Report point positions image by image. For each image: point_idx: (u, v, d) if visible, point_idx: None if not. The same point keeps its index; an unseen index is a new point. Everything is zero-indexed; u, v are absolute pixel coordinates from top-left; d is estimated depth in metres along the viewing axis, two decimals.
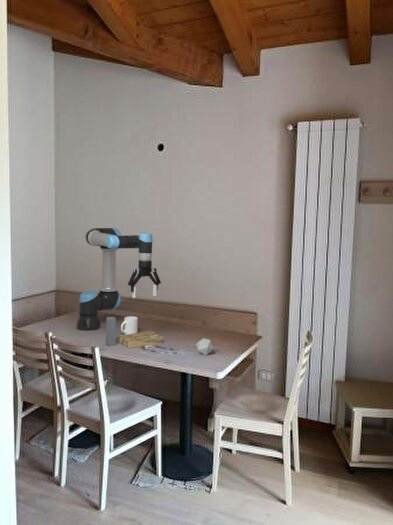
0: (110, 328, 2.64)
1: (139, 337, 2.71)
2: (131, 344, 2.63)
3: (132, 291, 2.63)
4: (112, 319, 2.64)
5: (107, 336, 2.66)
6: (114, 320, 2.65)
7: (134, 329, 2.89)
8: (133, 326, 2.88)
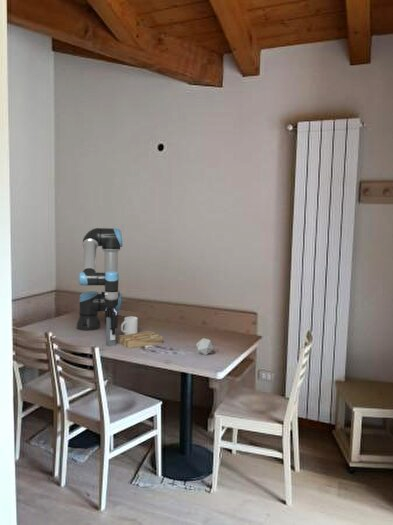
0: None
1: (139, 337, 2.71)
2: (131, 344, 2.63)
3: None
4: None
5: (107, 336, 2.66)
6: None
7: (134, 329, 2.89)
8: (133, 326, 2.88)
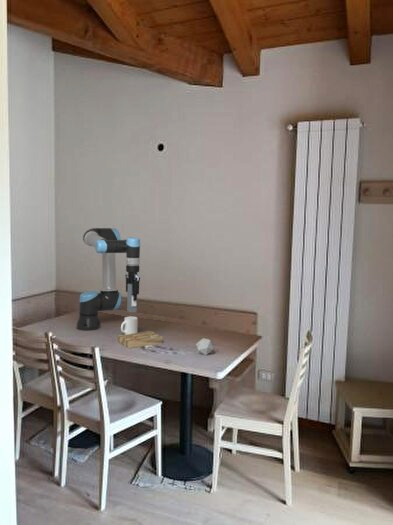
0: None
1: (139, 337, 2.71)
2: (131, 344, 2.63)
3: None
4: None
5: (128, 302, 2.67)
6: None
7: (134, 329, 2.89)
8: (133, 326, 2.88)
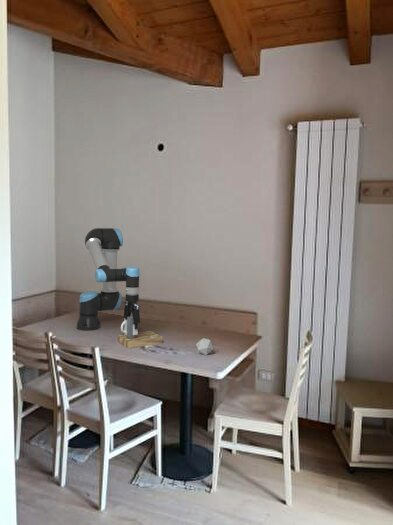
0: (131, 327, 2.67)
1: (139, 337, 2.71)
2: (131, 344, 2.63)
3: None
4: None
5: (128, 335, 2.69)
6: None
7: None
8: None
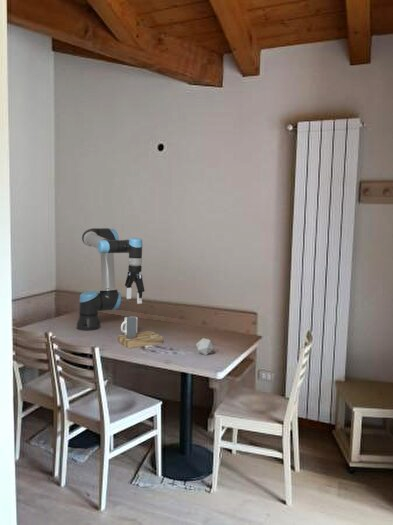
0: (131, 327, 2.67)
1: (139, 337, 2.71)
2: (131, 344, 2.63)
3: (127, 292, 2.78)
4: (133, 318, 2.67)
5: (127, 335, 2.69)
6: (134, 319, 2.68)
7: None
8: None
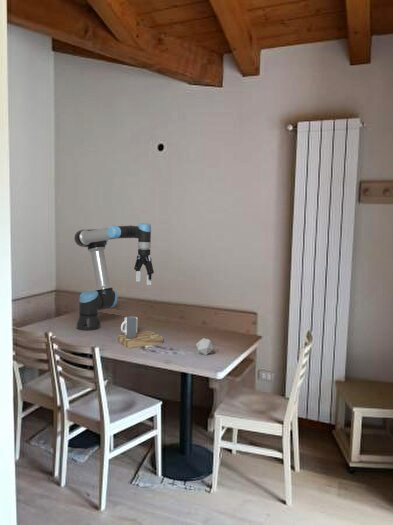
0: (131, 327, 2.67)
1: (139, 337, 2.71)
2: (131, 344, 2.63)
3: (136, 275, 2.93)
4: (133, 318, 2.67)
5: (127, 335, 2.69)
6: (134, 319, 2.68)
7: None
8: None
